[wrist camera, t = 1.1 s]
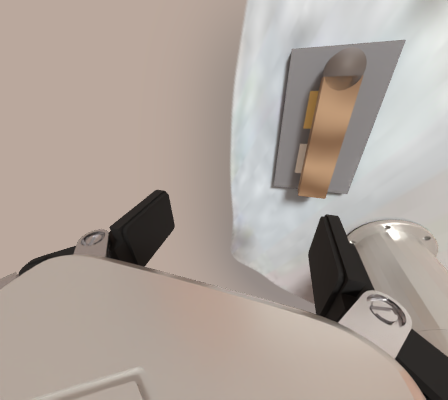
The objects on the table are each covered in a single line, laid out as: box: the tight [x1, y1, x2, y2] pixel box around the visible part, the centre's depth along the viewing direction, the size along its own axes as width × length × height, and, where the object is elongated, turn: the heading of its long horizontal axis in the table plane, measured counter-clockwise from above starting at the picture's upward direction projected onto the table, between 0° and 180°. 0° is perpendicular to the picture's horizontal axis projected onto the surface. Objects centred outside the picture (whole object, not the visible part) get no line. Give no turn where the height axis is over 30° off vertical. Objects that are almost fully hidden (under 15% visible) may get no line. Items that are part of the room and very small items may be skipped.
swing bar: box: [298, 47, 367, 199], centre depth 23 cm, size 17×4×2 cm, turn 2°
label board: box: [274, 40, 406, 194], centre depth 24 cm, size 18×11×2 cm, turn 2°
